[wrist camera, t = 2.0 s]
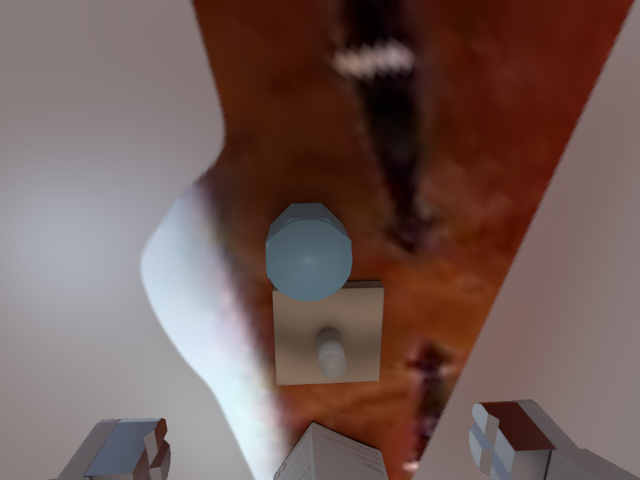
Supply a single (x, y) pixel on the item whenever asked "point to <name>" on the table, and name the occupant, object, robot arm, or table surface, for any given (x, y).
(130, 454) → the robot arm
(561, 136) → the table surface
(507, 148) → the table surface
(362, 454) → the supplement box
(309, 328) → the post base
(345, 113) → the table surface
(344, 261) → the teal cap
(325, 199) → the table surface
